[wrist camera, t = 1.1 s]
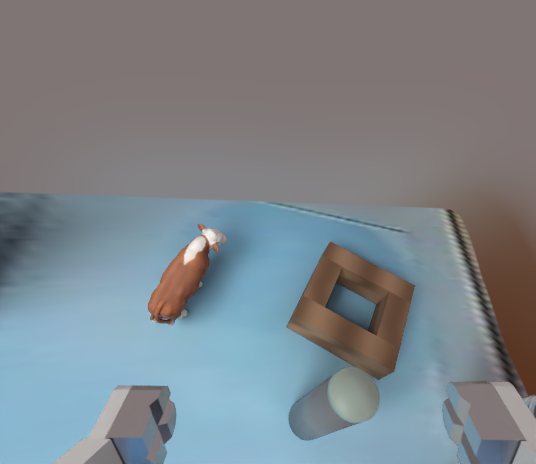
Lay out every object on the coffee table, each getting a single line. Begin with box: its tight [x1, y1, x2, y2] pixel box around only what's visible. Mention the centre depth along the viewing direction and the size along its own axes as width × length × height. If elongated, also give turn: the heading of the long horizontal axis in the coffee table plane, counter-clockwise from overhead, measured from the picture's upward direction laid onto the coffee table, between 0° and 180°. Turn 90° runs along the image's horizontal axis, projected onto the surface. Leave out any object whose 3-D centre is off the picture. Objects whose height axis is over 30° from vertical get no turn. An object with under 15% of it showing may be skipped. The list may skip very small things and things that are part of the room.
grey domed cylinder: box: [289, 367, 380, 440], centre depth 32 cm, size 4×4×14 cm
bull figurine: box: [148, 224, 227, 326], centre depth 41 cm, size 4×13×8 cm, turn 153°
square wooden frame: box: [287, 242, 415, 380], centre depth 45 cm, size 13×13×4 cm
